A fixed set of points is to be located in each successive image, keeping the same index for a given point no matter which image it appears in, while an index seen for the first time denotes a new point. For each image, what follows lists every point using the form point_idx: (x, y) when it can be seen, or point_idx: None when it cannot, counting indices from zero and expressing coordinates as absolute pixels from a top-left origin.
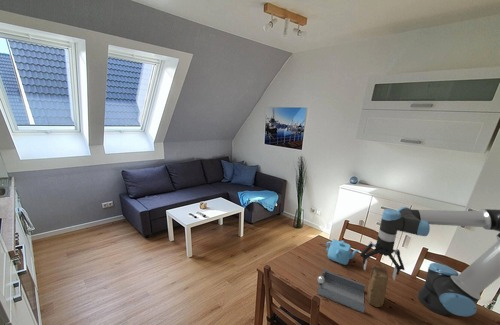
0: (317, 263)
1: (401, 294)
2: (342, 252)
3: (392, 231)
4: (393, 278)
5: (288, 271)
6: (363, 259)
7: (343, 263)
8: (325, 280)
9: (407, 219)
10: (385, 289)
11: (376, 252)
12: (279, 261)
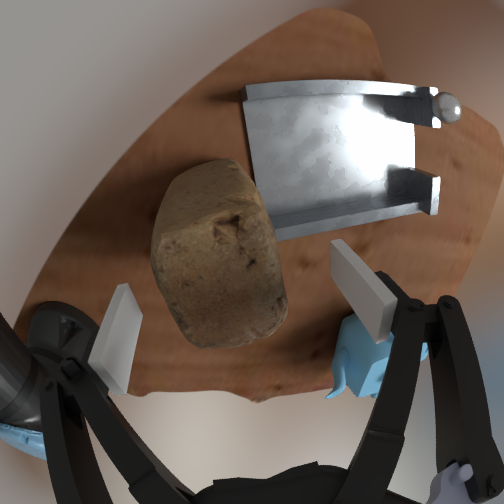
0: (427, 252)
1: None
2: (385, 345)
3: None
4: (123, 291)
5: (482, 148)
6: (404, 294)
7: (355, 315)
8: (403, 177)
9: None
10: (163, 199)
11: (381, 455)
12: (499, 177)
